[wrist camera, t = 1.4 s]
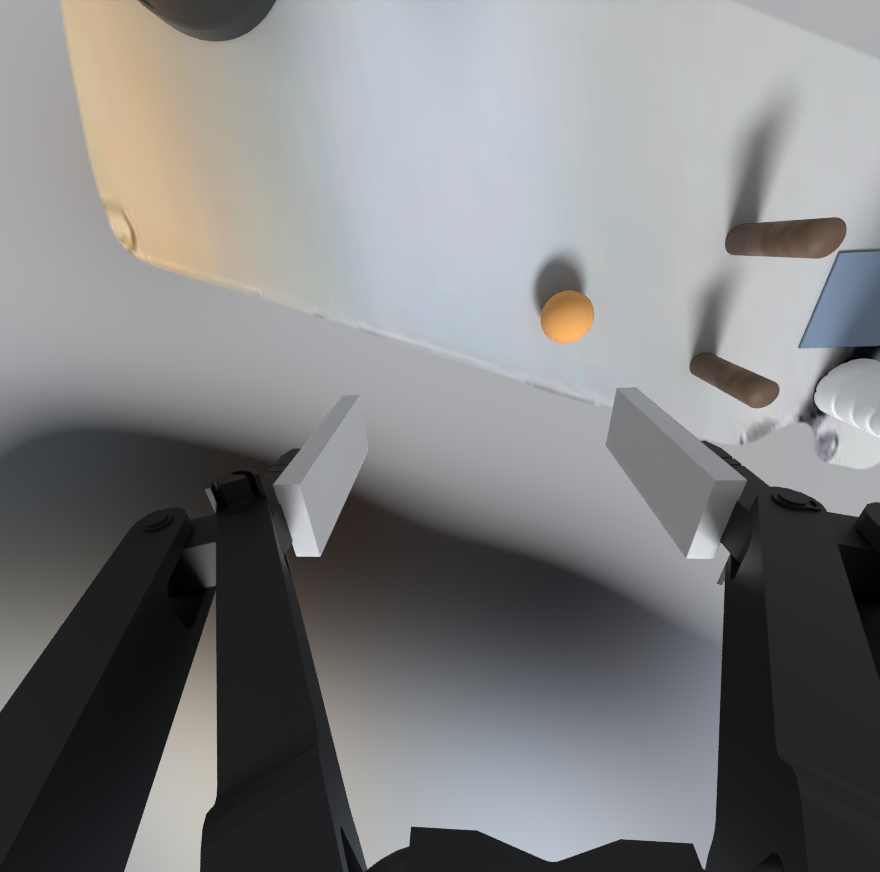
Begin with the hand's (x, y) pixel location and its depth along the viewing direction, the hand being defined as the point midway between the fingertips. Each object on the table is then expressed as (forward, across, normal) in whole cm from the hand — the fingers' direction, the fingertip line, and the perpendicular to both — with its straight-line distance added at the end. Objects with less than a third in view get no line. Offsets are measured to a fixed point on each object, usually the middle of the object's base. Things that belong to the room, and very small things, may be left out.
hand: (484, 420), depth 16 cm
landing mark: (+26, +39, 0) cm, 47 cm away
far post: (+26, +25, -6) cm, 37 cm away
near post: (+26, +25, +6) cm, 37 cm away
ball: (+23, +9, 0) cm, 25 cm away
